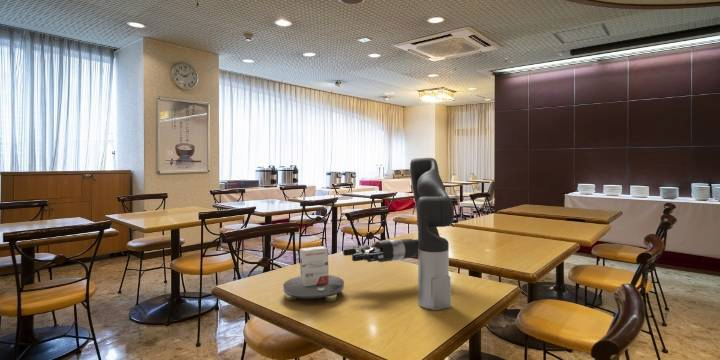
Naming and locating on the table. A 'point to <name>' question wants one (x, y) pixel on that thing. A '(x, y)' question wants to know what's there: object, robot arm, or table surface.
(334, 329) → the table surface
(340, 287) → the base
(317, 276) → the ink box
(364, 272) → the table surface
